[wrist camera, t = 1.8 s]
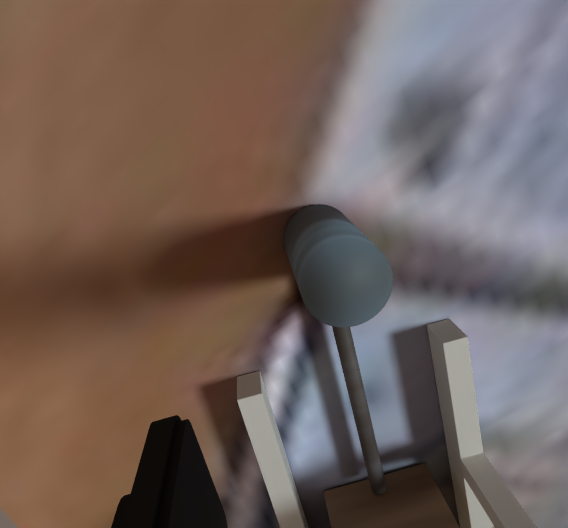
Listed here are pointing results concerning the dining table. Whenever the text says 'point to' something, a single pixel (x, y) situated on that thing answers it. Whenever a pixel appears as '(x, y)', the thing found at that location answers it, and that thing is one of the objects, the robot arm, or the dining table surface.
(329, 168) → the dining table surface
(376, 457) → the knobbed lever joystick
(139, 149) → the dining table surface
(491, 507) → the lever switch box
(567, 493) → the dining table surface
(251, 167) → the dining table surface
